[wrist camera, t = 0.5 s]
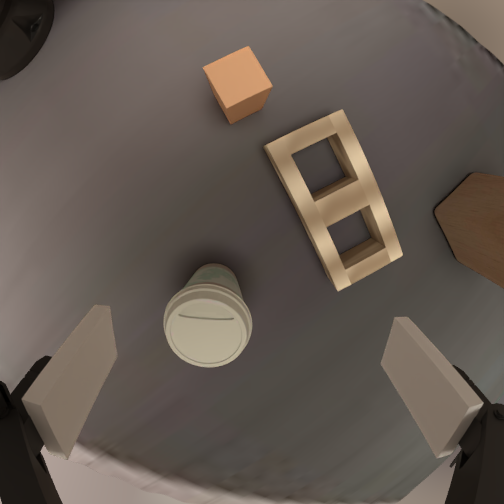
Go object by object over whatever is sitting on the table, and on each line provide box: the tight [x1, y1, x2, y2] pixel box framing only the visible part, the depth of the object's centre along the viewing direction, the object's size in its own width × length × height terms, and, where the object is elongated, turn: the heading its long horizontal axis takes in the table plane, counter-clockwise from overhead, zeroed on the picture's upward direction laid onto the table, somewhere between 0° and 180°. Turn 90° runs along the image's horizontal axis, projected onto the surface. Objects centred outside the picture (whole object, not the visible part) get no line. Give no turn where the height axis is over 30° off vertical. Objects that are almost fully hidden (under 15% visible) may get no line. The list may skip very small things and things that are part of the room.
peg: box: [203, 46, 273, 124], centre depth 28 cm, size 4×4×12 cm
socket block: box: [263, 110, 403, 291], centre depth 35 cm, size 18×9×4 cm, turn 28°
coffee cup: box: [164, 263, 252, 367], centre depth 34 cm, size 8×8×12 cm
